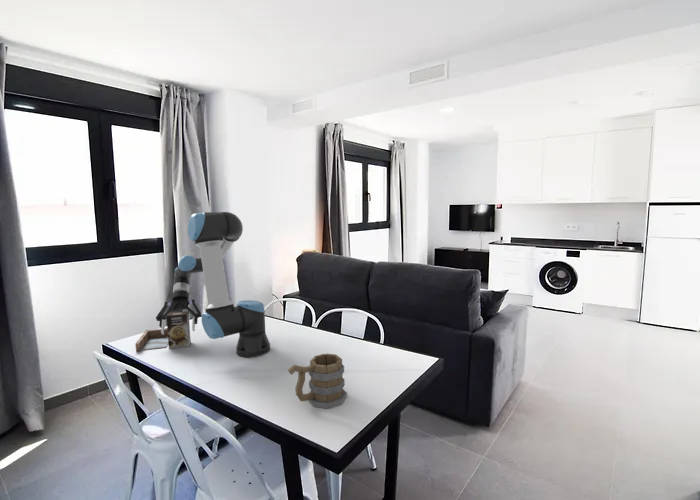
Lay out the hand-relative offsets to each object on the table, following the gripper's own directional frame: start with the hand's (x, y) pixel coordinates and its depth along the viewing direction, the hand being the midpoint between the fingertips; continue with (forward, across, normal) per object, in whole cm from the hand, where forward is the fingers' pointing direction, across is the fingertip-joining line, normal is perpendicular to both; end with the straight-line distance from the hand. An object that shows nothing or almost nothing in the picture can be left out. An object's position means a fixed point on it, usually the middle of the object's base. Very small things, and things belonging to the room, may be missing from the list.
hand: (178, 331), depth 174 cm
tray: (-1, +12, -12) cm, 17 cm away
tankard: (+54, -54, +42) cm, 87 cm away
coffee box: (+4, 0, -7) cm, 8 cm away
